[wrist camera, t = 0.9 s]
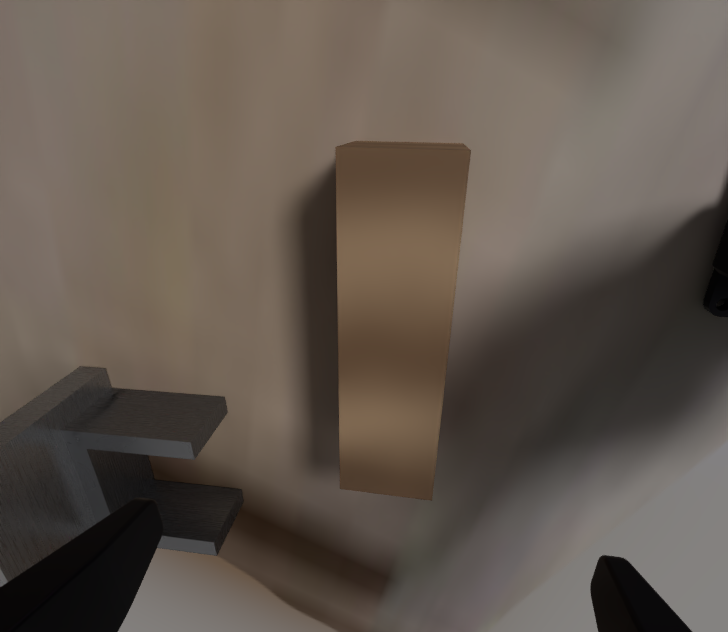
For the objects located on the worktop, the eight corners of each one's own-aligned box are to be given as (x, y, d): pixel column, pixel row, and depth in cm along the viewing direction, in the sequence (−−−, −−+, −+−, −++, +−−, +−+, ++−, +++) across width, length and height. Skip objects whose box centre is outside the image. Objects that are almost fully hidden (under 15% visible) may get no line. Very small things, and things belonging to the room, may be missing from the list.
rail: (356, 140, 17) (335, 147, 13) (462, 143, 16) (470, 150, 12) (355, 429, 22) (340, 488, 19) (432, 438, 22) (431, 500, 18)
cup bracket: (221, 376, 22) (116, 503, 15) (246, 516, 26) (174, 669, 19) (79, 366, 23) (-82, 479, 16) (125, 502, 27) (14, 641, 20)
